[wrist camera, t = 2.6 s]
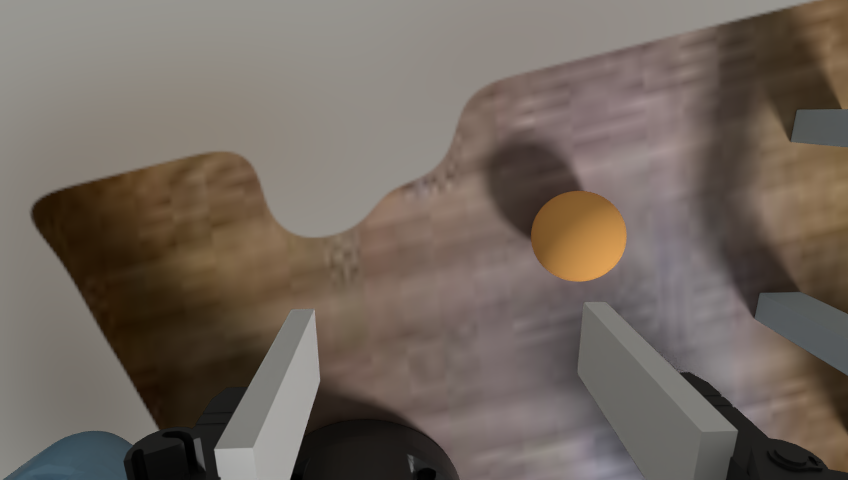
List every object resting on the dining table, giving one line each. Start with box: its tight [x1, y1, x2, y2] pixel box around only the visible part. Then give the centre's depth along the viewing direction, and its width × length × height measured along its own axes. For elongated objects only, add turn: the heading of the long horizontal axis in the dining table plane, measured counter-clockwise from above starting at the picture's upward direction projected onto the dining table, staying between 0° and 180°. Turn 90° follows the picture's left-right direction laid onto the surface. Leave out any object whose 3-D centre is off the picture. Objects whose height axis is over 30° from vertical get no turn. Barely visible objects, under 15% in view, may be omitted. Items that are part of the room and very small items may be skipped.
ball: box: [531, 191, 626, 281], centre depth 28 cm, size 6×6×6 cm
